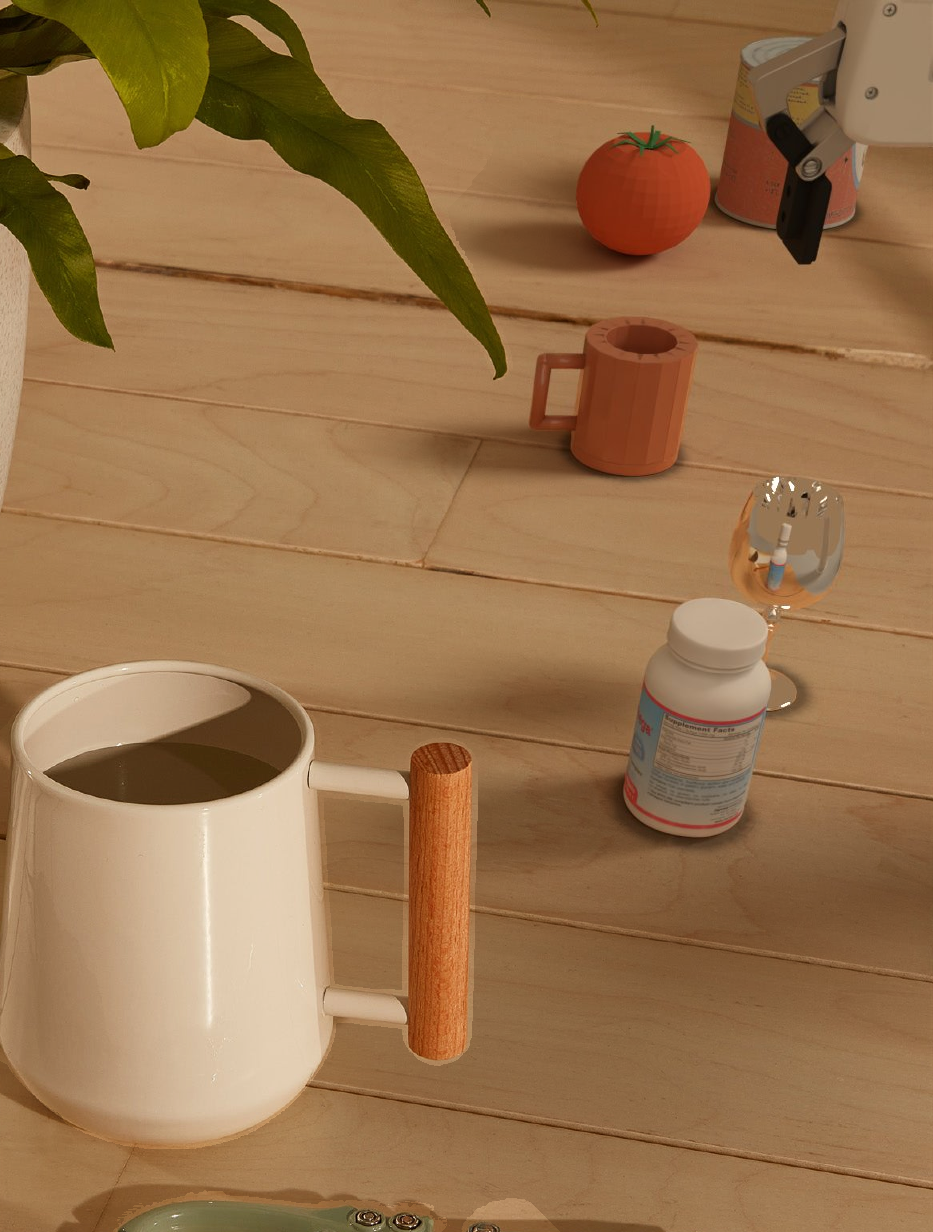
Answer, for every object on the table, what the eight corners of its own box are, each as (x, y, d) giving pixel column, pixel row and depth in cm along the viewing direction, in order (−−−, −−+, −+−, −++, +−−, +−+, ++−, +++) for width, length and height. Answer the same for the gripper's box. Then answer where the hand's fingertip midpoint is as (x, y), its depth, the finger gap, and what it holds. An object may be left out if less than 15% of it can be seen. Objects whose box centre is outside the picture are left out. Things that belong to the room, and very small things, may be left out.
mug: (667, 427, 139) (686, 316, 134) (685, 477, 133) (706, 363, 128) (519, 425, 139) (533, 314, 134) (531, 474, 133) (546, 361, 129)
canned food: (849, 238, 164) (882, 87, 157) (706, 221, 167) (732, 72, 160) (859, 189, 173) (891, 44, 165) (723, 173, 176) (748, 30, 168)
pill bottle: (638, 759, 109) (672, 577, 102) (753, 789, 106) (796, 605, 99) (607, 823, 104) (640, 637, 97) (727, 855, 102) (770, 668, 95)
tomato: (634, 216, 168) (653, 94, 162) (727, 257, 161) (750, 131, 155) (541, 244, 164) (557, 119, 158) (632, 287, 157) (653, 158, 151)
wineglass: (686, 695, 113) (724, 504, 106) (725, 648, 117) (765, 461, 110) (786, 729, 111) (833, 536, 103) (823, 680, 114) (871, 490, 107)
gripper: (819, -116, 82) (737, 287, 93) (1243, -117, 83) (1113, 284, 93) (767, -161, 88) (696, 223, 99) (1162, -162, 89) (1049, 220, 99)
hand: (899, 252), depth 96 cm, fingers open, 9 cm apart
